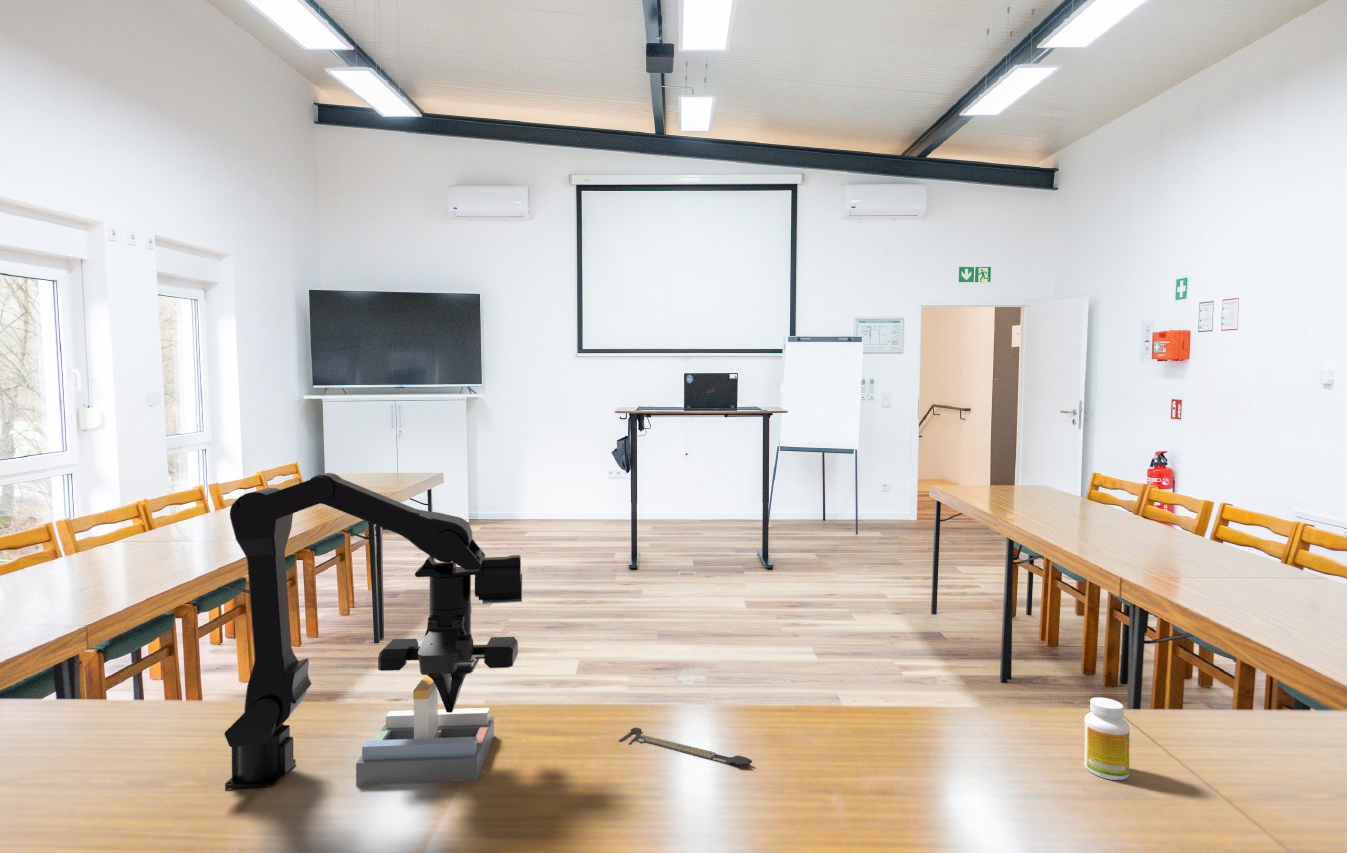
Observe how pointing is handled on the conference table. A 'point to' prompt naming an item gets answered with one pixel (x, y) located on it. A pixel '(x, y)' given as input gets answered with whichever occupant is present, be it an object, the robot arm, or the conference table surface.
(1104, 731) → the supplement bottle
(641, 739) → the tactical tomahawk
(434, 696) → the handle
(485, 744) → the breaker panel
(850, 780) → the conference table surface
